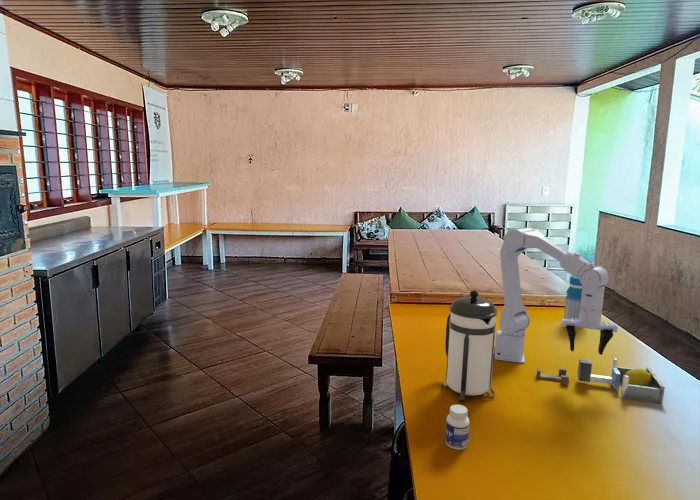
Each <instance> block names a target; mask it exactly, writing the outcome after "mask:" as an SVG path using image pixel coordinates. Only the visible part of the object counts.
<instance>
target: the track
mask: <svg viewBox="0 0 700 500" xmlns="http://www.w3.org/2000/svg"><path fill="white" fill-rule="evenodd" d="M567 371H568V370H567V369H566V368H562V367H558V375H556V374H555V375H554V374H547V373H541V368H539V367H538V368H536V379H538V380H547V381H555V382H560V385H562V386H569V383H570V376H569V375H567Z"/></svg>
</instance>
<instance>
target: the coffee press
mask: <svg viewBox="0 0 700 500" xmlns="http://www.w3.org/2000/svg"><path fill="white" fill-rule="evenodd" d="M479 295H480V294H479V292H478V291H477V290H475V289H473V290H471V291H470V293H469V296H460V297H458V298H456V299H454V300H453V301H452V303H451V304H450V305H449V314H448V315H447V318H446V324H445V325H446V326H445V341H444V344H445V355H446V373H445V374H446V375H445V379H444V380H443V381H442V383H441V387H442V388H444V389H446V388H447V387H449V388H450V389H451V390H452V391H454V392H456V393H459V394H460V395H459V398H458V399H459V402H460V403H465V401H466V398H467V396H479V395H483V394H486V395H487V396H488V397H489V398H490V399H493V398H494V397H495V394H496V393H495V391H494V389H493V388H492V376H493V363H494V346H495V340H496V326H497V325H496V316H497V315H498V309H497V308H496V306H495V304H494V302H492V301H490V300H489V299H486V298H483V297H479ZM445 381H446V383H447V384H445V383H444V382H445ZM489 390H490V392H491V393H490V392H488V391H489Z"/></svg>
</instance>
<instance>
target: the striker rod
mask: <svg viewBox="0 0 700 500" xmlns="http://www.w3.org/2000/svg"><path fill="white" fill-rule="evenodd" d="M577 367H578V368H577V375H576V376H577V380H578V382H584V383H585V382H586V383H592V382H593V383H600V384H606V385H611V386H612V387H613V389H614V390H620V383H621V382H620V381H621V380H620V376H621V374H620V372H619V371H618V369H617V368H612V367H611V371H612V376H611V375H610V376H606V375H599V374H592V370H593V369H592V367H593V363H592V361H591V360H590V359H587V358H585V359H584V358H578V366H577Z"/></svg>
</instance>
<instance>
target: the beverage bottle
mask: <svg viewBox="0 0 700 500" xmlns="http://www.w3.org/2000/svg"><path fill="white" fill-rule="evenodd" d="M582 289H583V286H582V284H581V282H580V279H578V278H576V277H575V276H573V275H572V274H571V275H570V277H569V287H568V288H567V290H566V296H565V304H564V305H565V306H564V316H563V319H579V314H580V305H581V296H582Z"/></svg>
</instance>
